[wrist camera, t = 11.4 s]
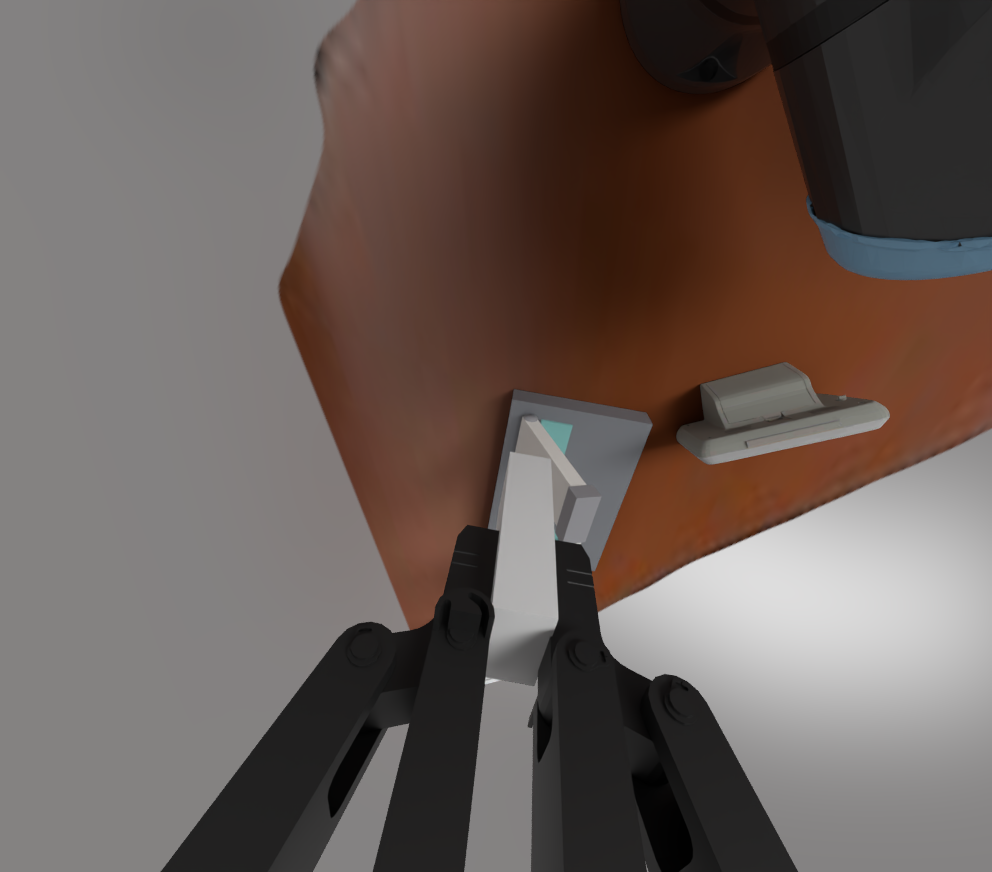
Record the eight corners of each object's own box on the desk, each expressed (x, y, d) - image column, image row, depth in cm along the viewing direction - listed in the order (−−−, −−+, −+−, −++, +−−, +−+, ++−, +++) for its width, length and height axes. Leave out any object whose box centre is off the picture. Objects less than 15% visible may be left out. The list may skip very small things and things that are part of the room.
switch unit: (646, 412, 48) (653, 425, 45) (592, 555, 60) (594, 572, 57) (513, 389, 48) (512, 400, 45) (486, 536, 60) (483, 552, 57)
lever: (537, 413, 47) (601, 496, 35) (529, 452, 49) (585, 542, 37) (518, 413, 46) (576, 498, 34) (510, 453, 48) (561, 544, 37)
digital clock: (667, 440, 50) (696, 494, 41) (672, 371, 46) (706, 413, 36) (813, 430, 48) (879, 484, 38) (833, 356, 43) (912, 397, 34)
